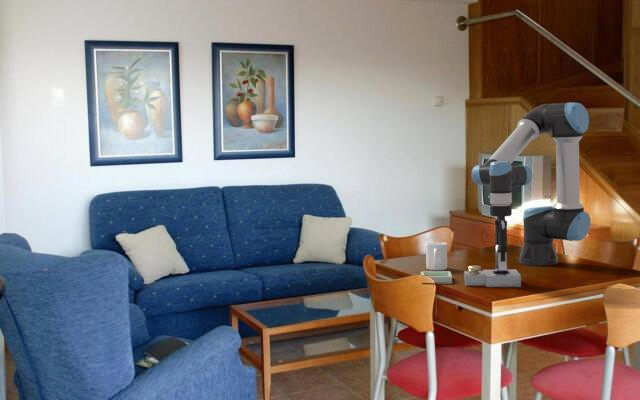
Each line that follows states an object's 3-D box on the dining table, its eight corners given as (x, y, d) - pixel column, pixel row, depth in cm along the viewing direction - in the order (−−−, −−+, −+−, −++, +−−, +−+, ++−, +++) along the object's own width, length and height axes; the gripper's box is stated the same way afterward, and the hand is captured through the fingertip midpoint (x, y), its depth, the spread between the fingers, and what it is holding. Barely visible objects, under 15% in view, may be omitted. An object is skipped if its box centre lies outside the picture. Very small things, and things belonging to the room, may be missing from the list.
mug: (446, 272, 299) (445, 246, 298) (425, 272, 301) (424, 246, 300) (447, 267, 311) (447, 242, 310) (427, 266, 312) (426, 241, 312)
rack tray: (450, 277, 288) (450, 271, 288) (452, 283, 277) (452, 276, 277) (421, 278, 289) (420, 271, 289) (421, 283, 278) (421, 277, 278)
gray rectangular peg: (506, 282, 276) (506, 244, 275) (507, 284, 272) (507, 245, 271) (495, 282, 277) (494, 244, 276) (496, 284, 273) (496, 245, 272)
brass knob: (480, 279, 277) (480, 265, 277) (481, 282, 273) (481, 267, 273) (467, 279, 278) (467, 265, 278) (468, 282, 274) (468, 267, 273)
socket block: (516, 280, 280) (516, 269, 279) (521, 286, 268) (520, 275, 268) (463, 280, 282) (463, 269, 282) (466, 287, 270) (465, 276, 270)
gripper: (487, 202, 282) (487, 263, 284) (493, 207, 263) (493, 273, 265) (507, 201, 282) (508, 263, 284) (515, 207, 262) (516, 273, 264)
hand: (501, 268), depth 274 cm, fingers open, 7 cm apart
